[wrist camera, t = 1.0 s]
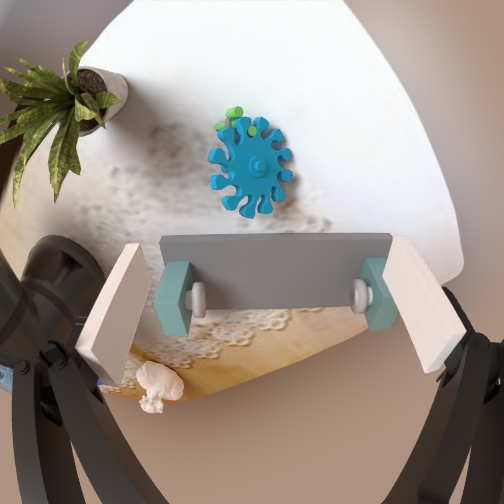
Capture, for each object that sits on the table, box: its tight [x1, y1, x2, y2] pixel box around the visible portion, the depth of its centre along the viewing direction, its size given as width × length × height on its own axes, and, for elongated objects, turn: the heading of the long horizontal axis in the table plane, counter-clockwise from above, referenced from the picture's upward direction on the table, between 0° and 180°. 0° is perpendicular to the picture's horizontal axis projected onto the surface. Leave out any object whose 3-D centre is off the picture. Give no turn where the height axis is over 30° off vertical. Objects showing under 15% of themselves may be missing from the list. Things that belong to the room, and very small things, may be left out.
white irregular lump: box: [136, 361, 184, 413], centre depth 52 cm, size 12×8×11 cm
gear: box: [208, 106, 292, 219], centre depth 28 cm, size 11×6×10 cm
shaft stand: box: [152, 233, 399, 337], centre depth 35 cm, size 31×12×9 cm, turn 91°
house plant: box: [0, 40, 129, 209], centre depth 18 cm, size 14×14×16 cm
